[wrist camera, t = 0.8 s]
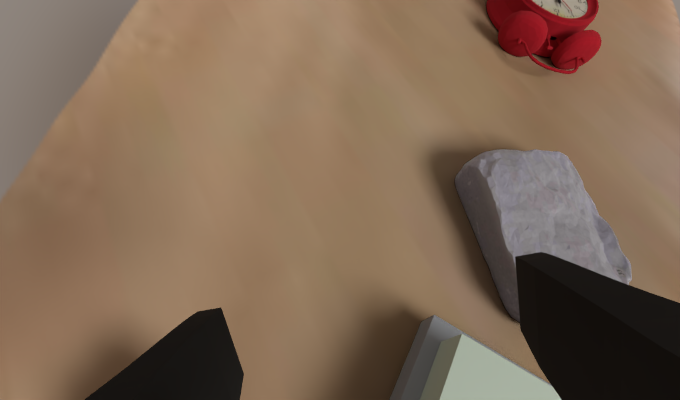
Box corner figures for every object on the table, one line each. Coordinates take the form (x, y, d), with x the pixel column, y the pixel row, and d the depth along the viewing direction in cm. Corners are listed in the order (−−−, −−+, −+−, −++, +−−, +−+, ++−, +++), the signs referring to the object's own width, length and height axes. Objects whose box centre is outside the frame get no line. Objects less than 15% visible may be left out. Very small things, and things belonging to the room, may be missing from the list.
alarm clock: (590, -31, 43) (651, 33, 33) (553, 25, 48) (597, 97, 38) (500, -60, 42) (535, -2, 32) (471, 1, 47) (494, 68, 37)
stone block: (527, 173, 35) (438, 173, 30) (576, 142, 31) (483, 137, 27) (592, 311, 31) (499, 336, 26) (658, 294, 27) (564, 320, 22)
